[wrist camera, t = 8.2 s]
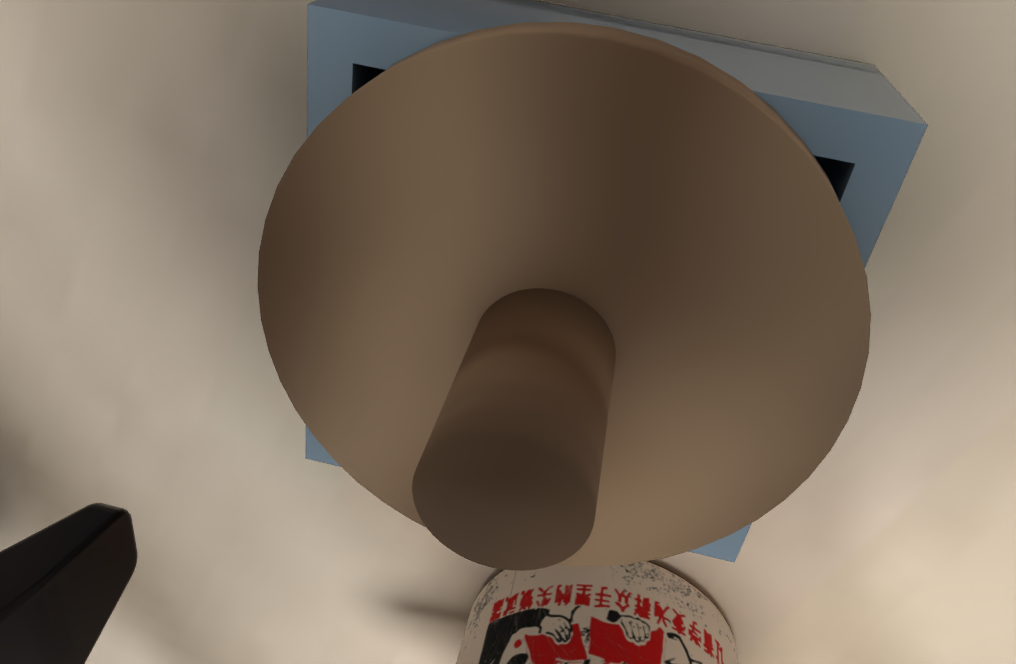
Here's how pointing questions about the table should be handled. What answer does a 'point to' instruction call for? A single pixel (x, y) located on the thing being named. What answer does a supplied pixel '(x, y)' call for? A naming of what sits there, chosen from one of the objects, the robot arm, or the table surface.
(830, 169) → the dish
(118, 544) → the robot arm
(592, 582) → the teacup with lid
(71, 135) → the table surface
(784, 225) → the lid
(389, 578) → the table surface
